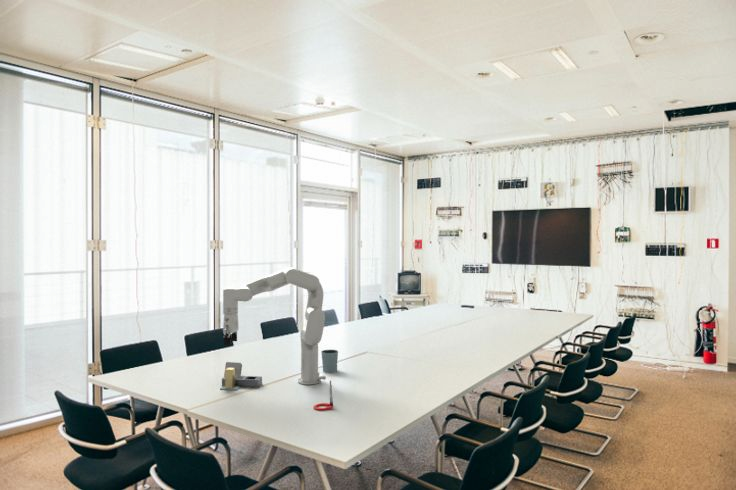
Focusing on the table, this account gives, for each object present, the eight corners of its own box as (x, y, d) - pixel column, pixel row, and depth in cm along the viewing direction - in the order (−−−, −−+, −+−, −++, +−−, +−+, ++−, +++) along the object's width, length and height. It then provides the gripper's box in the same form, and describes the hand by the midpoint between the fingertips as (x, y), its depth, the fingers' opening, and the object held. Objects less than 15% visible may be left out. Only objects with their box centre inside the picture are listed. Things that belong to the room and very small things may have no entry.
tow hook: (313, 412, 228) (333, 410, 228) (312, 384, 228) (332, 383, 228) (313, 406, 236) (333, 404, 237) (312, 379, 236) (332, 378, 237)
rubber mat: (240, 387, 263) (240, 386, 263) (236, 390, 258) (236, 389, 258) (223, 386, 264) (223, 385, 264) (220, 389, 259) (220, 388, 259)
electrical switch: (223, 379, 280) (224, 362, 280) (227, 377, 285) (228, 361, 285) (238, 380, 278) (239, 363, 279) (242, 378, 283) (243, 362, 284)
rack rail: (262, 383, 270) (262, 376, 270) (257, 387, 263) (257, 380, 263) (226, 382, 272) (226, 375, 272) (221, 386, 266) (221, 378, 265)
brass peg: (235, 386, 263) (235, 367, 263) (232, 388, 259) (232, 369, 259) (228, 386, 264) (228, 367, 264) (225, 388, 260) (225, 369, 260)
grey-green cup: (335, 373, 292) (335, 353, 292) (319, 372, 294) (319, 352, 294) (339, 369, 302) (339, 349, 302) (324, 368, 304) (324, 348, 304)
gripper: (231, 313, 252) (231, 346, 252) (243, 308, 269) (243, 340, 270) (217, 313, 253) (217, 346, 253) (229, 308, 270) (229, 339, 270)
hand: (230, 343), depth 261 cm, fingers open, 9 cm apart
